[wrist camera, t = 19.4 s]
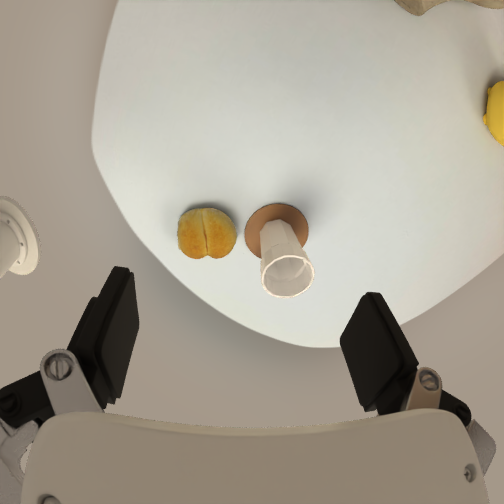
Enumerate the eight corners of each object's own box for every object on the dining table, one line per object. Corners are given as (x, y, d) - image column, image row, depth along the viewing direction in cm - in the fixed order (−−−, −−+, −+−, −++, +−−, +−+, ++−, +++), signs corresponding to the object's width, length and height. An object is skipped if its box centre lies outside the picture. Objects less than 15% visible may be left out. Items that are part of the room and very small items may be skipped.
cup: (246, 230, 43) (250, 274, 33) (282, 206, 41) (297, 245, 32) (270, 259, 46) (279, 305, 37) (304, 237, 44) (323, 280, 35)
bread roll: (236, 252, 45) (236, 267, 42) (181, 252, 45) (177, 267, 41) (237, 205, 41) (237, 216, 37) (176, 205, 40) (171, 217, 37)
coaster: (239, 256, 46) (240, 257, 45) (250, 199, 40) (250, 200, 40) (298, 262, 47) (299, 264, 47) (315, 209, 42) (315, 210, 42)
